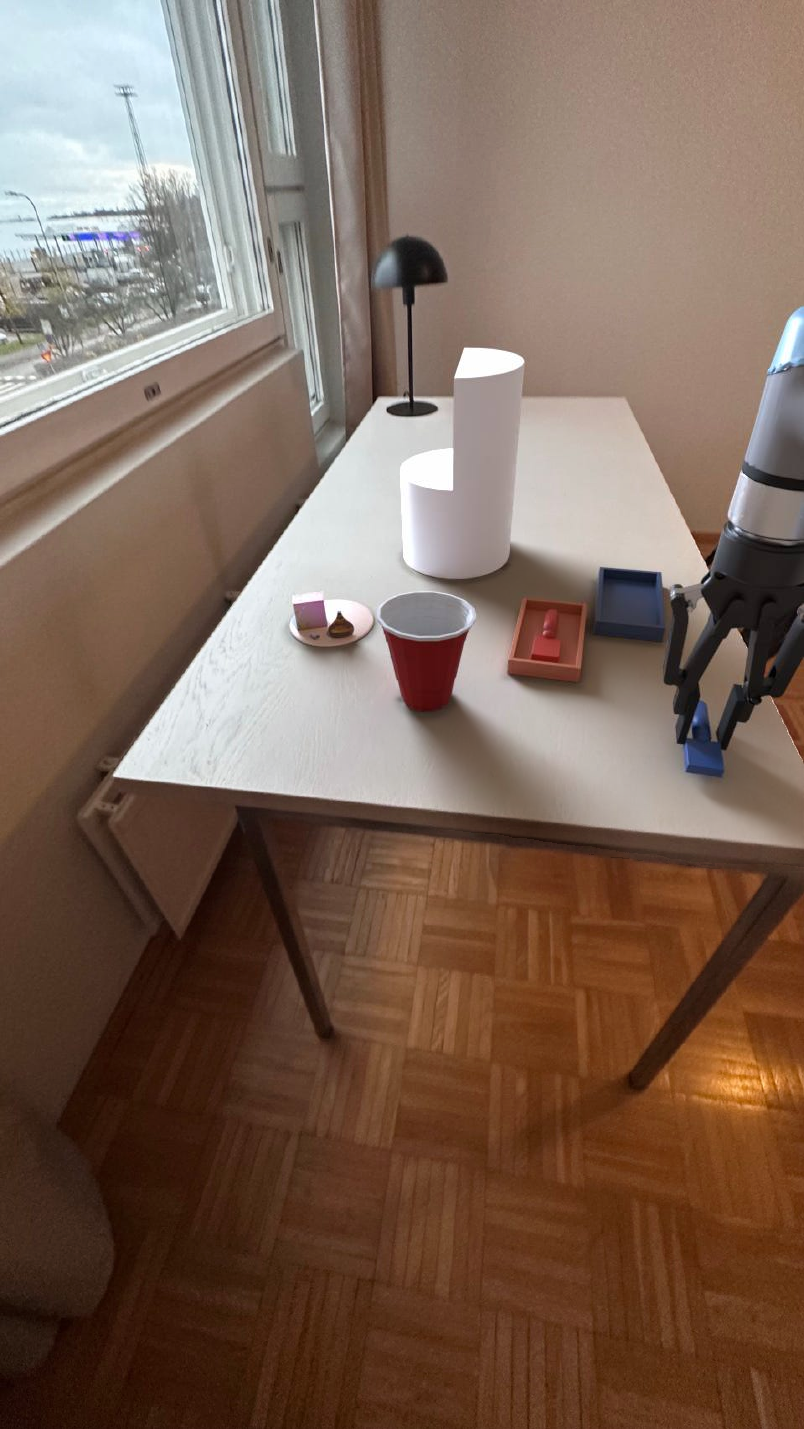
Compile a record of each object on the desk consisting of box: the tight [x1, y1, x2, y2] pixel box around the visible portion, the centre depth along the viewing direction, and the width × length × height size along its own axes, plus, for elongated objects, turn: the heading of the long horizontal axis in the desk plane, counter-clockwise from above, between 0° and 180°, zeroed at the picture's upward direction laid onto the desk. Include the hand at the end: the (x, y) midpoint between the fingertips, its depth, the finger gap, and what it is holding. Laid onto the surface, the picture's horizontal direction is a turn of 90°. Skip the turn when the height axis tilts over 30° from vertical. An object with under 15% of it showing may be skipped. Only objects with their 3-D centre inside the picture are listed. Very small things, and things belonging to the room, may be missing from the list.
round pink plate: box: [288, 590, 375, 648], centre depth 88 cm, size 12×12×4 cm
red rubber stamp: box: [531, 609, 562, 663], centre depth 82 cm, size 11×3×2 cm, turn 165°
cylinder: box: [399, 347, 526, 580], centre depth 94 cm, size 17×17×28 cm
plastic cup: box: [376, 590, 477, 713], centre depth 72 cm, size 11×11×12 cm
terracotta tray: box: [506, 597, 588, 683], centre depth 82 cm, size 9×15×2 cm, turn 165°
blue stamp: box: [682, 699, 725, 779], centre depth 66 cm, size 11×3×2 cm, turn 165°
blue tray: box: [593, 566, 666, 643], centre depth 88 cm, size 9×15×2 cm, turn 165°
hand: (700, 738), depth 67 cm, fingers closed on blue stamp, 3 cm apart
